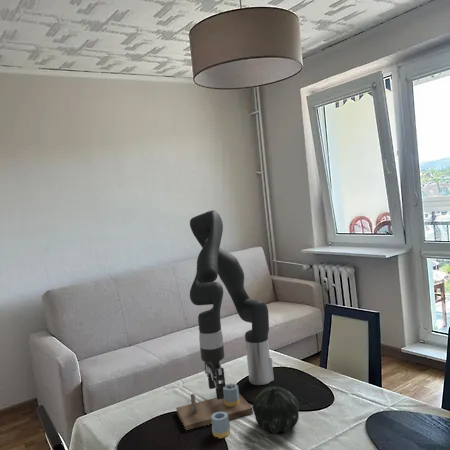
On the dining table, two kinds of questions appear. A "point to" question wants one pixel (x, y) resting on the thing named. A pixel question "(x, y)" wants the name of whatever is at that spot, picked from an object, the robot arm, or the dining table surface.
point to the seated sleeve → (231, 395)
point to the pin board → (210, 411)
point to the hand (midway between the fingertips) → (216, 393)
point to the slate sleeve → (220, 424)
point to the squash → (276, 409)
